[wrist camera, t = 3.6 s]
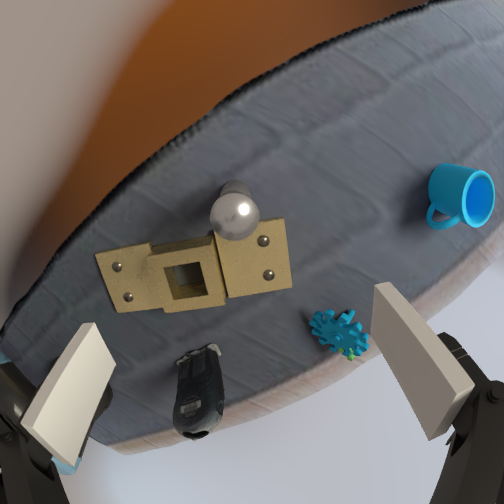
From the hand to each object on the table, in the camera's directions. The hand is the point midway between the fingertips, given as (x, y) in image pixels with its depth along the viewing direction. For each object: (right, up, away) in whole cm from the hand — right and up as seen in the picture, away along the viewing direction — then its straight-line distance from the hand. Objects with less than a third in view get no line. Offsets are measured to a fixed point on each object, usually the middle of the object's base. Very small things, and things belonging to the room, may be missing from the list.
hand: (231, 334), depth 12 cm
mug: (+30, +13, +25) cm, 41 cm away
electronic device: (-8, -15, +33) cm, 37 cm away
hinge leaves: (-8, +1, +27) cm, 28 cm away
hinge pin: (-1, +11, +23) cm, 26 cm away
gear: (+12, -8, +33) cm, 36 cm away
